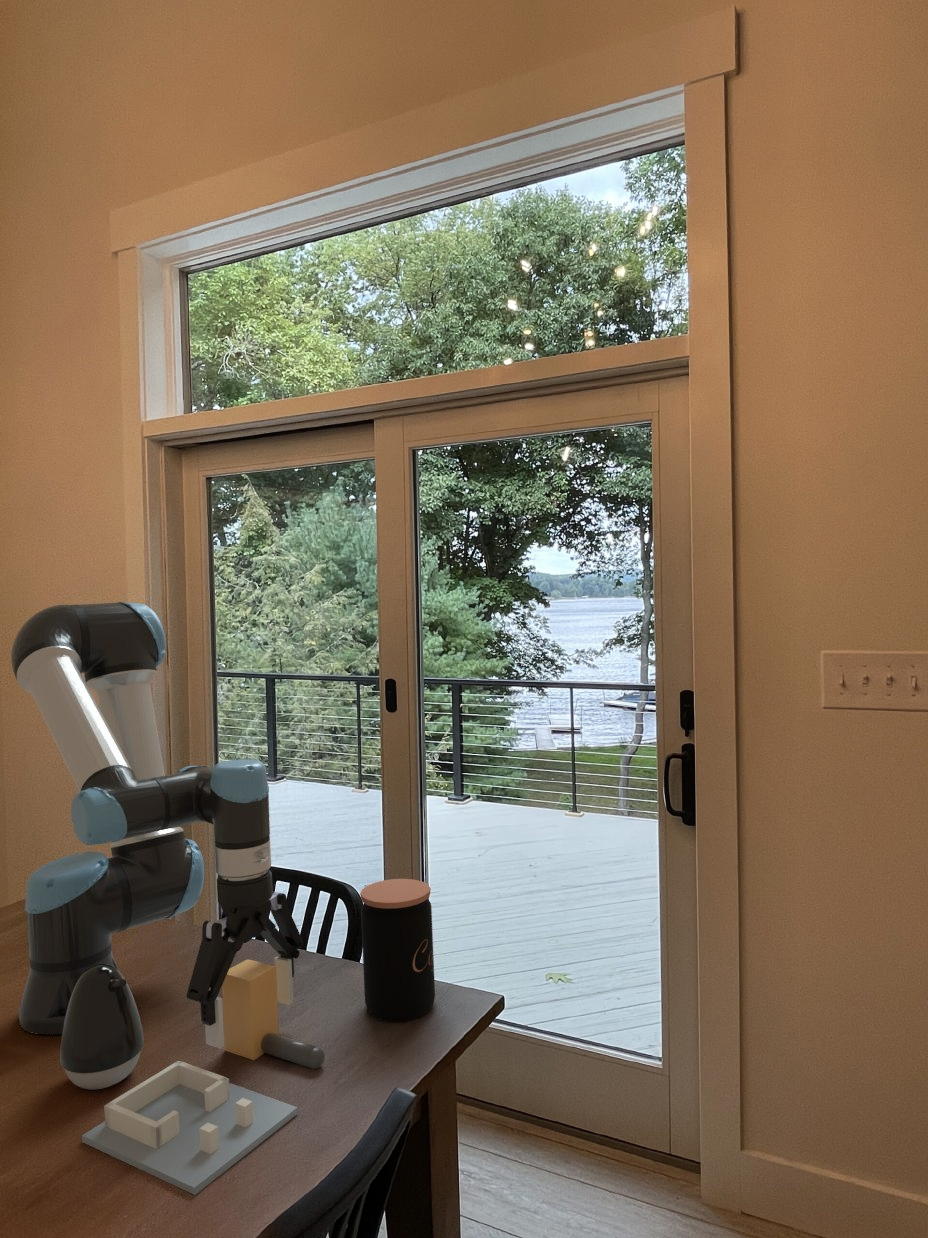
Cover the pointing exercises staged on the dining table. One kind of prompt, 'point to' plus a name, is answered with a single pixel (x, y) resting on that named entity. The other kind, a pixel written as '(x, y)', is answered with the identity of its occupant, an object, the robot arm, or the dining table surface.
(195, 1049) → the dining table surface
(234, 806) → the robot arm
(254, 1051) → the plug
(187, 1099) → the board
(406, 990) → the coffee jar
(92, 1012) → the dark grey egg shape
